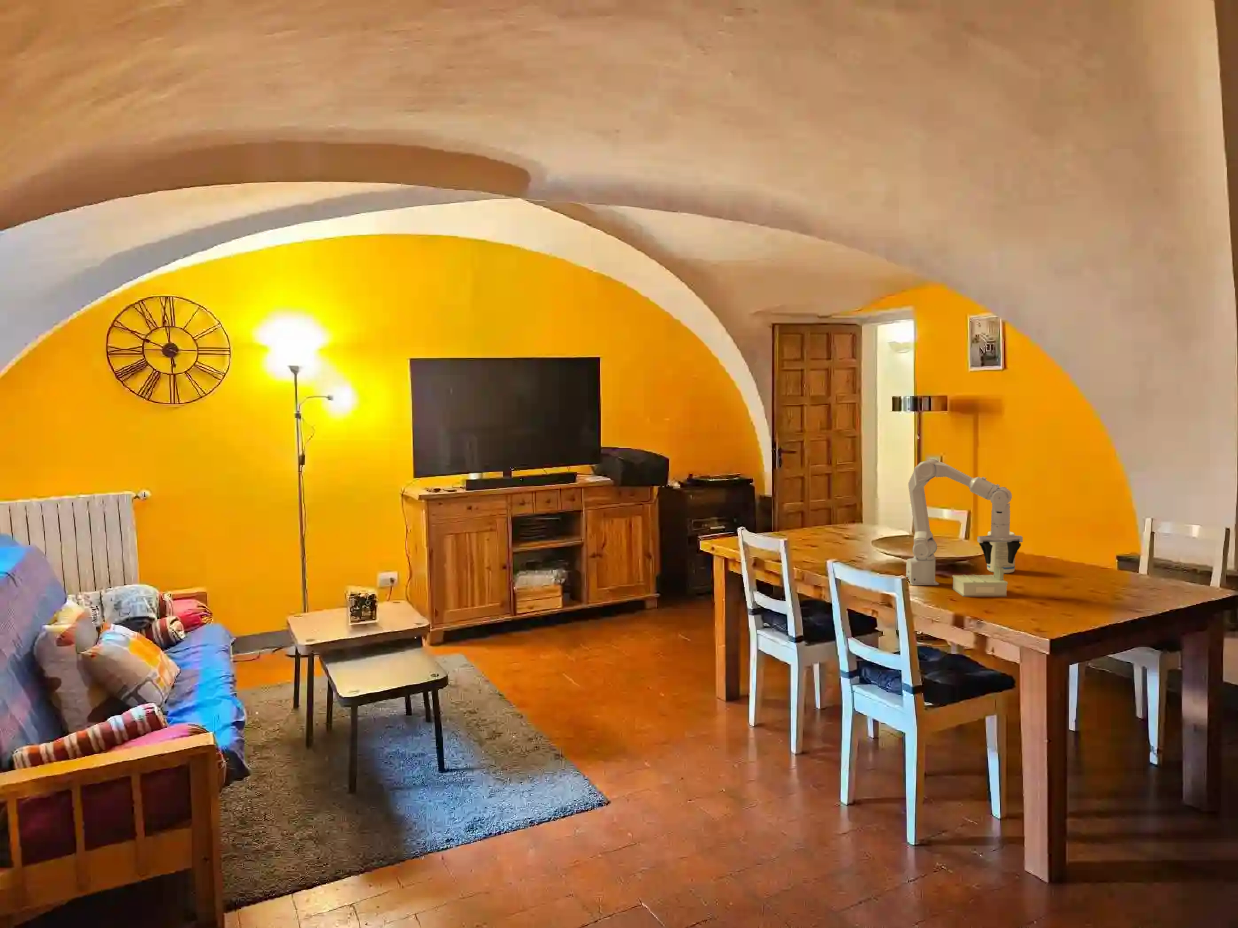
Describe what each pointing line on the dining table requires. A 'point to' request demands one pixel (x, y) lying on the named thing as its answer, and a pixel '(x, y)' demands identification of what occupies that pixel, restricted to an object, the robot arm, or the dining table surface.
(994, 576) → the lid
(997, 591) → the block
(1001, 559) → the supplement tub
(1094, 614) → the dining table surface
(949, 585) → the dining table surface
